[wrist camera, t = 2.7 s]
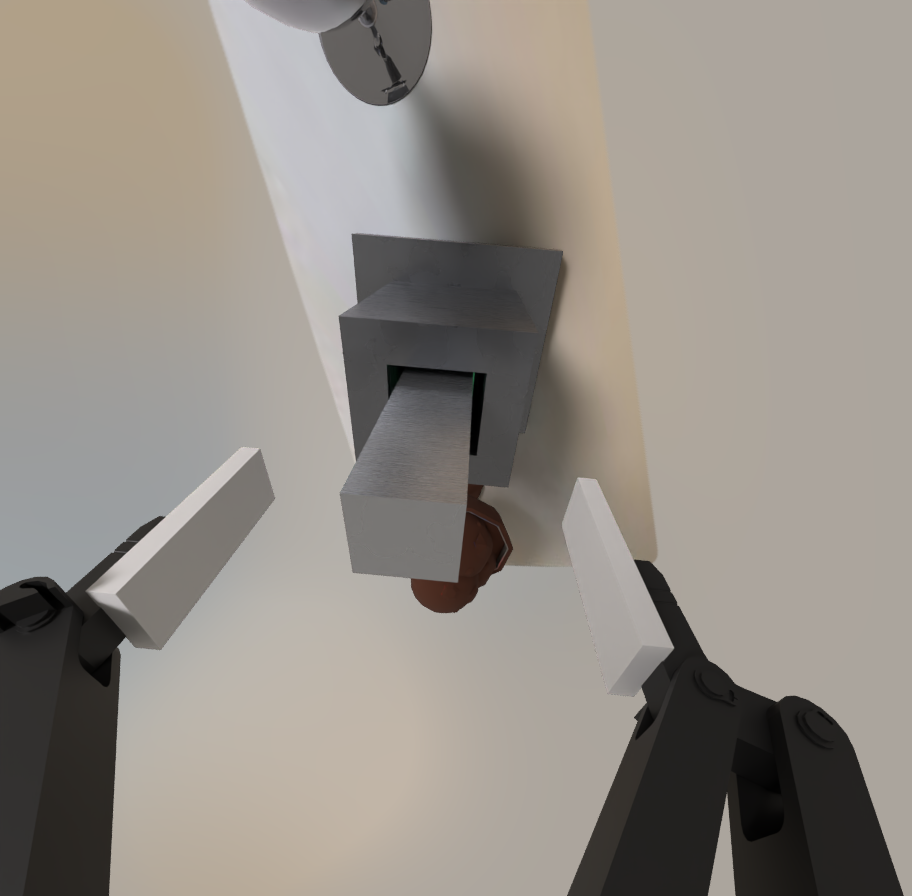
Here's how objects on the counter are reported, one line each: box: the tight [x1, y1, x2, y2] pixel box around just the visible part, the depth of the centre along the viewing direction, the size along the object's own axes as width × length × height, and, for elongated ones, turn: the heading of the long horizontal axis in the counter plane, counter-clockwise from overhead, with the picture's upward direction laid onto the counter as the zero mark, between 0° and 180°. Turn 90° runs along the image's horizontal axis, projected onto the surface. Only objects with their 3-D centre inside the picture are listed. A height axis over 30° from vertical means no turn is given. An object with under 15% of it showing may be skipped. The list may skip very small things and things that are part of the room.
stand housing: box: [339, 233, 563, 487], centre depth 25 cm, size 16×16×15 cm
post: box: [340, 366, 475, 583], centre depth 21 cm, size 4×4×21 cm
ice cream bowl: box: [411, 484, 513, 613], centre depth 34 cm, size 11×11×15 cm
